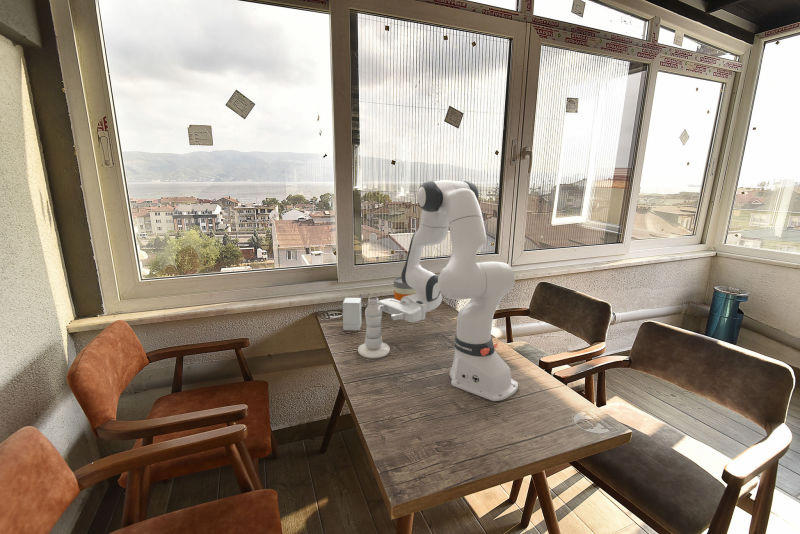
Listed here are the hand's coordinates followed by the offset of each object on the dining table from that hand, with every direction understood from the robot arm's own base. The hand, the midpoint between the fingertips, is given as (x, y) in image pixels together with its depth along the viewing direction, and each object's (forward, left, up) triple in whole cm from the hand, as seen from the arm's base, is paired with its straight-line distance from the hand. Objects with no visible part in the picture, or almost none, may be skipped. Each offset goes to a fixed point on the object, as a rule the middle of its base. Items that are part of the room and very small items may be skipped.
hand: (384, 314), depth 143 cm
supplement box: (+24, -2, -14) cm, 28 cm away
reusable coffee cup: (+26, -36, -14) cm, 46 cm away
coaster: (0, +5, -14) cm, 14 cm away
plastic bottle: (0, +5, -13) cm, 14 cm away
